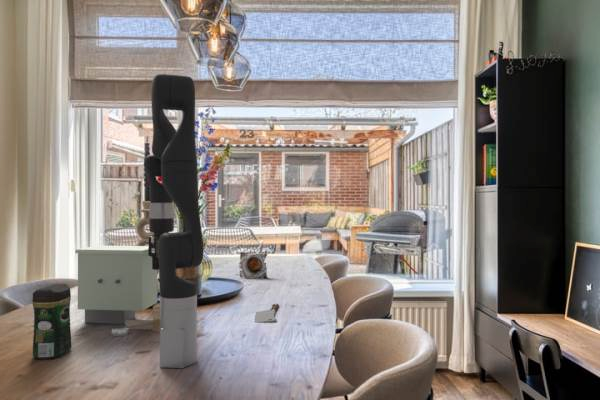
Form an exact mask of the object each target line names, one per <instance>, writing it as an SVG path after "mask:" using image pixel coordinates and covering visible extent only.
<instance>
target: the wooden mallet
mask: <svg viewBox="0 0 600 400" xmlns="http://www.w3.org/2000/svg"><path fill="white" fill-rule="evenodd" d="M124 326H128V327H129V330H147V331H148V330H149V331H151V330H152V332H159V333H160V302H157V303H155V304H154V305H152V319H132V320H125V324H124Z"/></svg>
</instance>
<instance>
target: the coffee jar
mask: <svg viewBox="0 0 600 400" xmlns="http://www.w3.org/2000/svg"><path fill="white" fill-rule="evenodd" d="M71 293H72V292H71V287H70V286H69V285H68V284H66V283H59V284H58V283H52V284H50V285H47V286H45V287H42V288H38V289H36V290H35V291H33V292H32V300H31V301H32V302H31V304H32V307H33V316H34V317H33V337H32V338H33V339H32V341H33V342H32V358H35V359H38V360H48V359H54V358H59V357H61V356H63V355H64V354H66V353H67V352H69V351H70V350H71V349H72V332H71V308H70V307H71V299H72V298H71V297H72V295H71Z"/></svg>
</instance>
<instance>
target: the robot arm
mask: <svg viewBox="0 0 600 400" xmlns="http://www.w3.org/2000/svg"><path fill="white" fill-rule="evenodd" d="M195 88H196V87H195V82H194V79H193V78H192V77H190V76H187V75H179V74H177V75H176V74H167V73H166V74H164V73H158V74H156V75H154V77H153V79H152V82H151V91H150V92H151V93H150V94H151V96H150V97H151V118H152V119H151V120H152V129H153V130H152V143H151V153H152V154H148V155H147V156H146V157H145V158H144V162H143V167H144V171H145V174H146V177H147V180H148V185H149V213H148V214H149V215H148V216H149V217H148V220H149V221H148V222H149V224H148V228H149V229H148V231H149V232H150V233H153V236H148V246H149V248H148V255H149V256H151V258H152V269H153V270H157V271H158V282H159V303H160V332H159V367H160V368H169V369H171V368H172V369H185V367H188V366H192V365H194V364H195V363H196V362H197V360H198V345H197V344H198V339H197V338H198V324H197V323H198V319H197V318H198V315H197V314H198V286H197V283H196V282H194V281H192V280H187V279H184V278H181V277H180V276H178V275H177V272H176V270H177V269H186V268H196V267H199V266H200V265H201V264H202V263H203V259H204V240H203V232H202V224H201V216H200V215H201V214H200V208H199V207H200V205H199V179H198V177H199V175H198V172H199V171H198V158H197V147H196V130H195V129H196V89H195ZM165 110H166V111H168V110H169V111H181V113H182V116H181V121H180V124H179V125H178V127H177V130H176V127H175V126H174V125H173V123H172V122H171V121H170V120H169V119H168V117H167V115H166V114H165ZM160 177H161V182H159V180H158V179H157V178H160ZM174 204H175V206H176V207H177V209H178V211H179V212H180V215H181V217H182V220H183V223H184V229H185V231H183V232H181V231H179V232H174V230H175V222H174V221H175V210H174Z"/></svg>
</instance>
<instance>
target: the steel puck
mask: <svg viewBox="0 0 600 400" xmlns="http://www.w3.org/2000/svg"><path fill="white" fill-rule="evenodd" d="M129 334H130V329H129V327H128V326H125V325H118V326H114V327H112V328H111V336H112V337H118V338H119V337H125V336H128V335H129Z"/></svg>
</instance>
